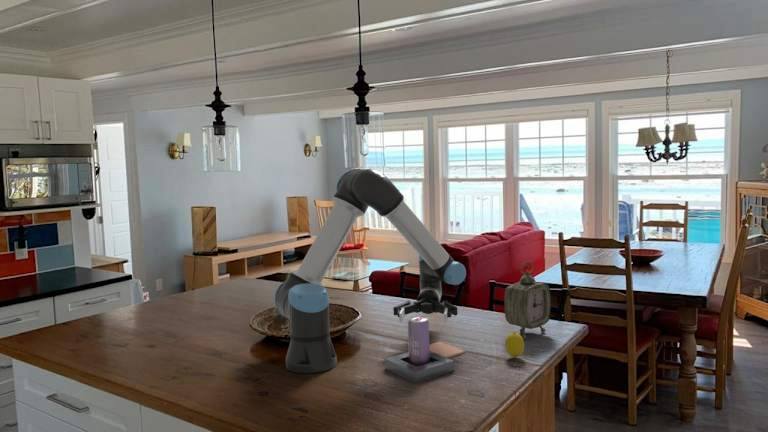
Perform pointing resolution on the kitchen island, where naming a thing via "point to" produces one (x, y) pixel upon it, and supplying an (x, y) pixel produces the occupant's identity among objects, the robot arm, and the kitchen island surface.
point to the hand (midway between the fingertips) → (422, 318)
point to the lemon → (514, 344)
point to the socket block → (419, 367)
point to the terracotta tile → (445, 350)
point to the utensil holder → (280, 322)
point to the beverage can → (418, 340)
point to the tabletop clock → (527, 303)
